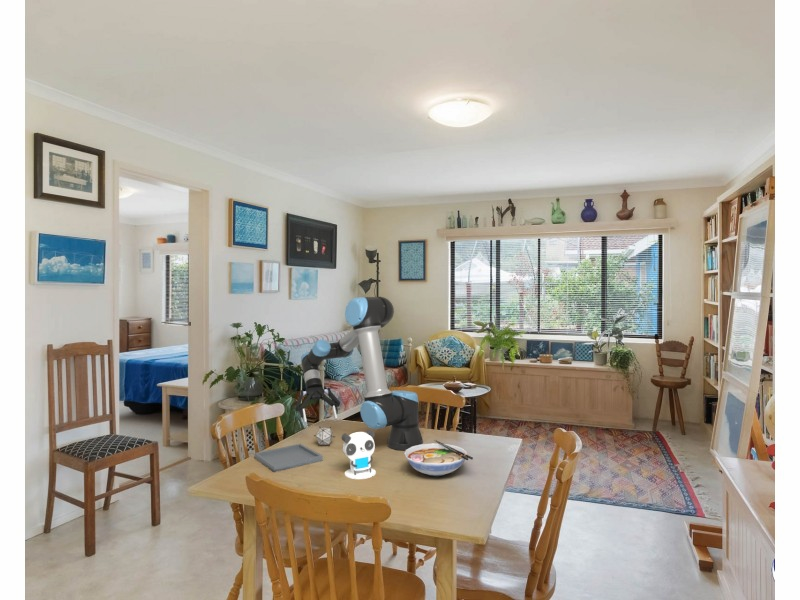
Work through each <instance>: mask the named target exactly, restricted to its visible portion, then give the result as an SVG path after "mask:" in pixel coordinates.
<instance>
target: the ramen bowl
mask: <svg viewBox="0 0 800 600" xmlns="http://www.w3.org/2000/svg"><path fill="white" fill-rule="evenodd" d="M433 441H434V442H435V443H434V442H432V443H423V444H421V445H416V446H412V447H410V448H408V449H406V450H404V453H403V455H404V456H405V458H406V460H407V461H408V463H409V464H410V466H411V467H412V468H413V469H414V470H416V471H417V472H420V473H421V474H425V475H428V476H431V477H441V476H442V477H443V476H445V475H446V474H447V475H448V474H450V473H451V474H452V473H454V472H455V471H456V470H457V469H459V468H460V467H461V466H462V465H463V463H464V462H465V460H466V461H469V459H470V460H474V457H472V456H471V455H469V454H468V451H466V450H465V449H464V448H463V447H460V446H458V445H455V444H449V443H443V442H440V441H438V440H435V439H434V440H433Z"/></svg>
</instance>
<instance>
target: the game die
mask: <svg viewBox="0 0 800 600" xmlns="http://www.w3.org/2000/svg"><path fill="white" fill-rule="evenodd" d="M318 427H319V430H317V433H316V434H313V437H315V439H316V442H317V443H318V445H317V447H319V446H329V447H331V445H330V444H331V443H332V441H333V439H334V438H336V436H335V435H334V434H333V432H332V429H331V428H332V426H330V427H321V426H318Z"/></svg>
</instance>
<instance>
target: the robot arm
mask: <svg viewBox="0 0 800 600" xmlns="http://www.w3.org/2000/svg"><path fill="white" fill-rule="evenodd" d="M394 308H395V307H394V305H393V303H392V302H391V301H390V299H389V298H386V297H385V296H359V297H354V298H352V299H350V300H349V302H348V303H347V305H346V308H345V312H344V316H345V321H346V322H347V323H348V325H349V326H351V327H352V329H351V330H349V332H347V333H346V334H345V335H344V336H343V337H342V338H340V339H339V340H338V341H336V342H328V341H327V340H325V339H318V340H317V341H316V342H315V343H314V345H313V346H312V347H311V349H310V351H306V352H305V353H303V354H302V355H301V357H300V359H301V361H300V363H301V368H302V373H303V377H304V384H305V391H304V390H303V389H301V390H300V392H299V397H298V399H297V402H296V405H295V407H294V408H295V409H294V411H295V412H298V413H299V416H300V418H302V420H303V425H304V426H306V425H307V422H308V421H307V416H306V411H305V408H306V406H307V405H308V404H309V402H310V401H316V400H322V401H324V402H325V403H326V404H328V405H329V406H330V407H331V410H332V415H333V420H334V422H337V420H338V412H339V411H338V407H340V405H341V401H340V400H339V399H338V398H337V397H336V396H335V394H334V393H333V392H332V391H331V388H330V387H327V389H324V386H323V381H322V378H321V373H320V366H321V364H322V363H323V362H324V361H325V360H331V359H341V358H347V357H350V356H352V355H353V352H354V349H355V348H356V347H357V346H359V350H360V351H359V352H360V355H361V357H360V358H361V362H362V363H361V364H362V368H363V375H364V380H365V388H366V393H365V395H364V396H363V399H364V402H362V403H361V406H360V410H359V413H360V417H361V419H362V421H363V423H364V424H365V425H366V426H367V427H368V428H369V429H371V430H379V429H384V428H387V427H389V426H391V427H390V432H389V435H388V438H387V447H388V448H389V449H392V450H396V451H406V449H408V448H410V447H412V446H416V445H421V444H424V439H423V436H422V433H421V430H420V427H419V426H420V425H419V402H420V401H419V395H418V394H417V392H415V391H408V390H392V391H391V390H390V389H389V388H388V383H387V377H386V370H385V365H384V359H383V353H382V347H381V340H380V335H379V331H380V329H382V328H384V327H385V326H386V325H388V324H389V323H390V322H391V321H392V319H393V317H394V315H395V309H394ZM305 395H306V396H307V397H306V399H305V400H304V401H303V398H304V396H305ZM302 401H303V402H302ZM301 403H302V404H301Z"/></svg>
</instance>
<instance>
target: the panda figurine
mask: <svg viewBox="0 0 800 600" xmlns="http://www.w3.org/2000/svg"><path fill="white" fill-rule="evenodd" d="M375 435H376V434H375V432H374V431H373V430H372V429H371V430H370V429H367V430H366V432H365V431H357V432H353V433H350V434H347V433H343V434H342V435H341V440H342V441H343V444H342V452H343V453H344V455H345V457H347V458H348V459H349V466H350V468H349V469H346V470H345V471H344V476H345V477H346V478H348V479H353V480H365V479H369V478H373V477H374V476H375V475H376V474H377V472H376V470H375V468H372V466H371V463H372V462H373V460H374V459H373V456H372V455H373V453H374V452H375V449H376V448H375V447H376V445H375V441H374V438H375ZM372 476H373V477H372Z"/></svg>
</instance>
